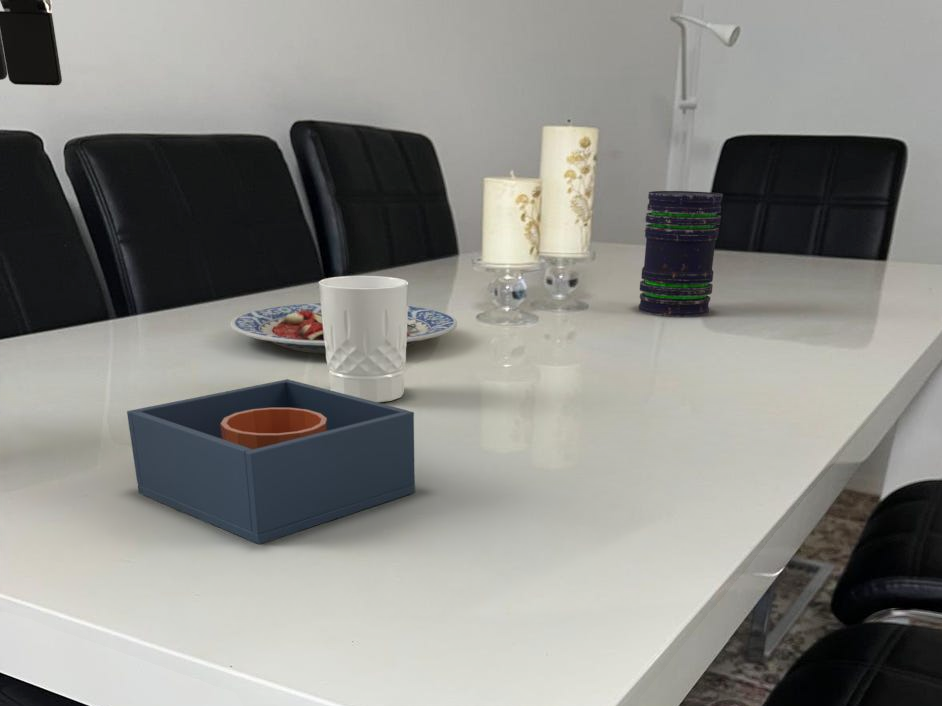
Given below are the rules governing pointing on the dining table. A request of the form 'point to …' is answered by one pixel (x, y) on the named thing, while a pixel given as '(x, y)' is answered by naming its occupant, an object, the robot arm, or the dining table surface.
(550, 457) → the dining table surface
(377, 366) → the white cup
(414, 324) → the ceramic plate
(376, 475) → the bin
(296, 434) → the bowl
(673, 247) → the storage jar
